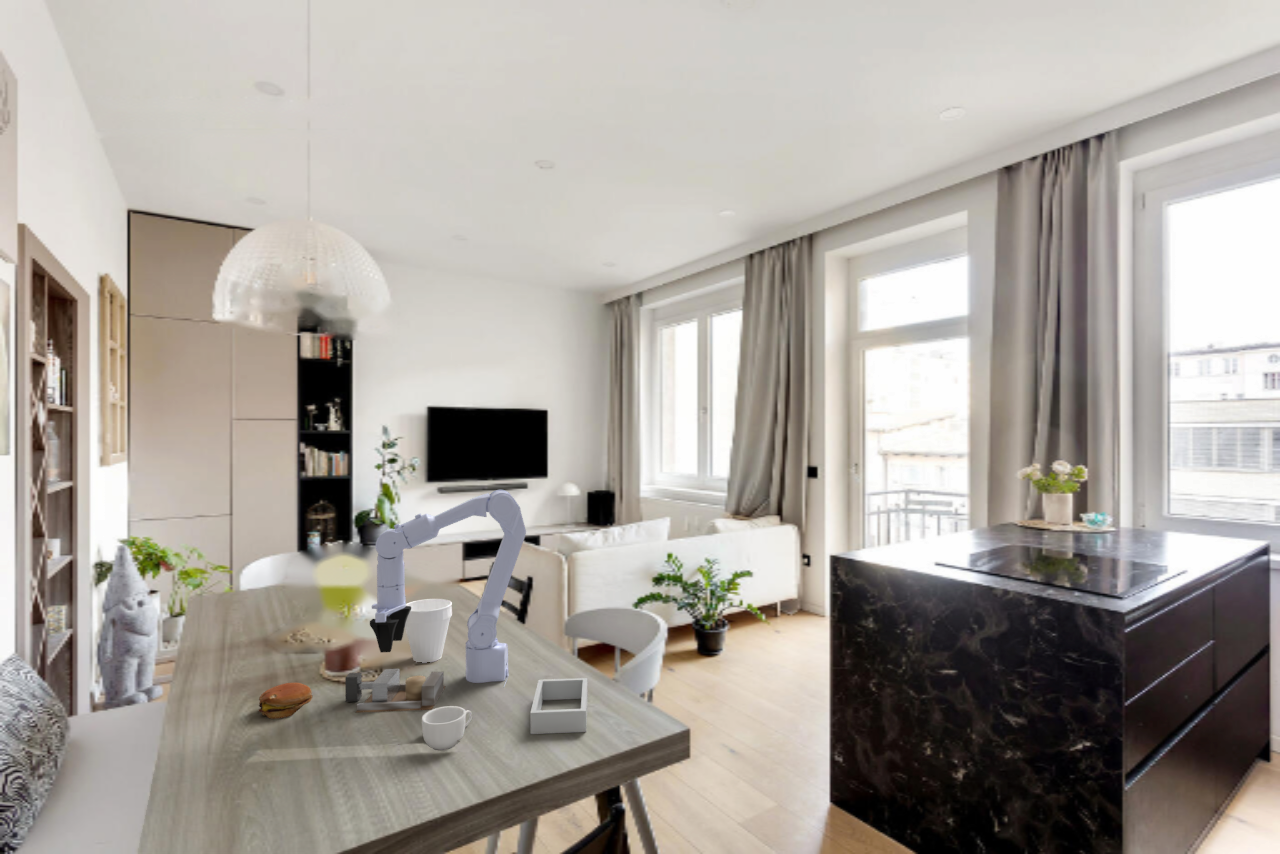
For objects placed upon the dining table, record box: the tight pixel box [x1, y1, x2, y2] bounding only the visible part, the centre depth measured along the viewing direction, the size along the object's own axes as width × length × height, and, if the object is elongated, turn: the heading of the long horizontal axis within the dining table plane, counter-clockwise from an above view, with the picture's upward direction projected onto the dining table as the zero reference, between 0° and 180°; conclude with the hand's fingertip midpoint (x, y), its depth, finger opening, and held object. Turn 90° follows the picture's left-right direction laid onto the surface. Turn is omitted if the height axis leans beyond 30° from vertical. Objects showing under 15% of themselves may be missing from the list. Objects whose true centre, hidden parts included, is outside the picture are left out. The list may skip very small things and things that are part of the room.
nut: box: [404, 675, 427, 701], centre depth 135 cm, size 4×4×4 cm
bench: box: [355, 670, 447, 714], centre depth 135 cm, size 15×12×6 cm
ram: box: [344, 668, 401, 703], centre depth 134 cm, size 9×8×5 cm
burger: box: [258, 682, 313, 720], centre depth 134 cm, size 10×9×5 cm
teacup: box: [421, 705, 473, 751], centre depth 119 cm, size 10×8×5 cm
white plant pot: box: [404, 598, 453, 664], centre depth 164 cm, size 12×12×14 cm
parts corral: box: [529, 677, 589, 735], centre depth 130 cm, size 10×16×4 cm, turn 4°
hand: (391, 645), depth 142 cm, fingers open, 7 cm apart
